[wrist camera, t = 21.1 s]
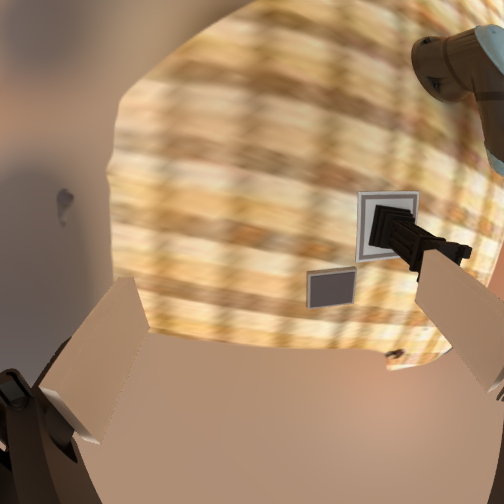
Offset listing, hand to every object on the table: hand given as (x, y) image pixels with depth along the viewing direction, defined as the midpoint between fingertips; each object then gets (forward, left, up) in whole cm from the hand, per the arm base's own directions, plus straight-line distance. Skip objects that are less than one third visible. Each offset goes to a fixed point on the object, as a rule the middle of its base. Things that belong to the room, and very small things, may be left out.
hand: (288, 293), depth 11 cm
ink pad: (+22, +13, -37) cm, 45 cm away
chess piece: (+10, +25, -37) cm, 45 cm away
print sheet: (+10, +25, -37) cm, 46 cm away
